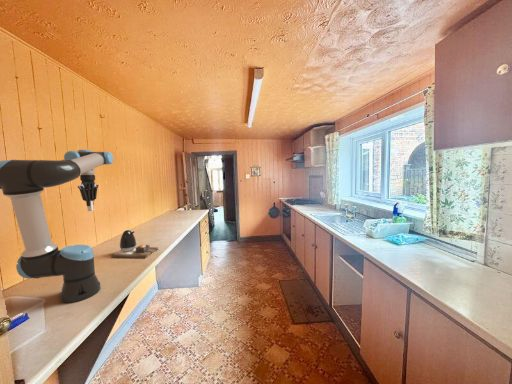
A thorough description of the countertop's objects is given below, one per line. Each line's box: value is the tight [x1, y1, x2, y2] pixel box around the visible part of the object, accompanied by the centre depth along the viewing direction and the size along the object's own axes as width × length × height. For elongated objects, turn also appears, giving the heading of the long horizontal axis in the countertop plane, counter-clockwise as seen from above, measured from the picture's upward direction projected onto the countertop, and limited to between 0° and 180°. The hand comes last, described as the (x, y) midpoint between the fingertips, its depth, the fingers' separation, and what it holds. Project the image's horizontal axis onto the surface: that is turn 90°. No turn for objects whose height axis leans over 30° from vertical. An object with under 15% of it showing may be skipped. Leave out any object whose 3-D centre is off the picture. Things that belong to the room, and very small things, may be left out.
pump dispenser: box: [119, 229, 137, 252], centre depth 151 cm, size 10×10×15 cm
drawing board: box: [110, 244, 159, 259], centre depth 151 cm, size 16×25×6 cm, turn 85°
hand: (90, 210), depth 135 cm, fingers closed
